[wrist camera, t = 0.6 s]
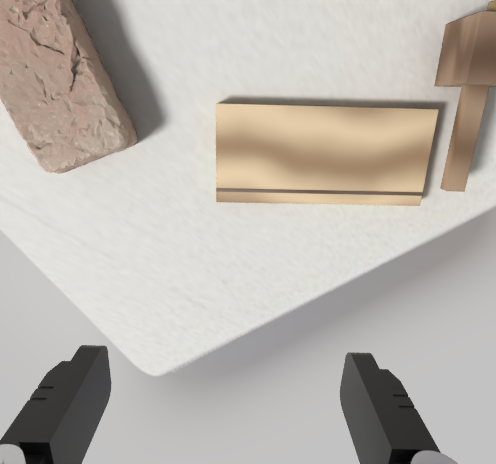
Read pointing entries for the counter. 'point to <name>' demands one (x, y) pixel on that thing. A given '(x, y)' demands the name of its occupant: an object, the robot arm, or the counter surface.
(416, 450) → the robot arm
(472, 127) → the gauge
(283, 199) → the board
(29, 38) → the brick
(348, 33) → the counter surface
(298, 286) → the counter surface
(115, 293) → the counter surface
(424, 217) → the counter surface
